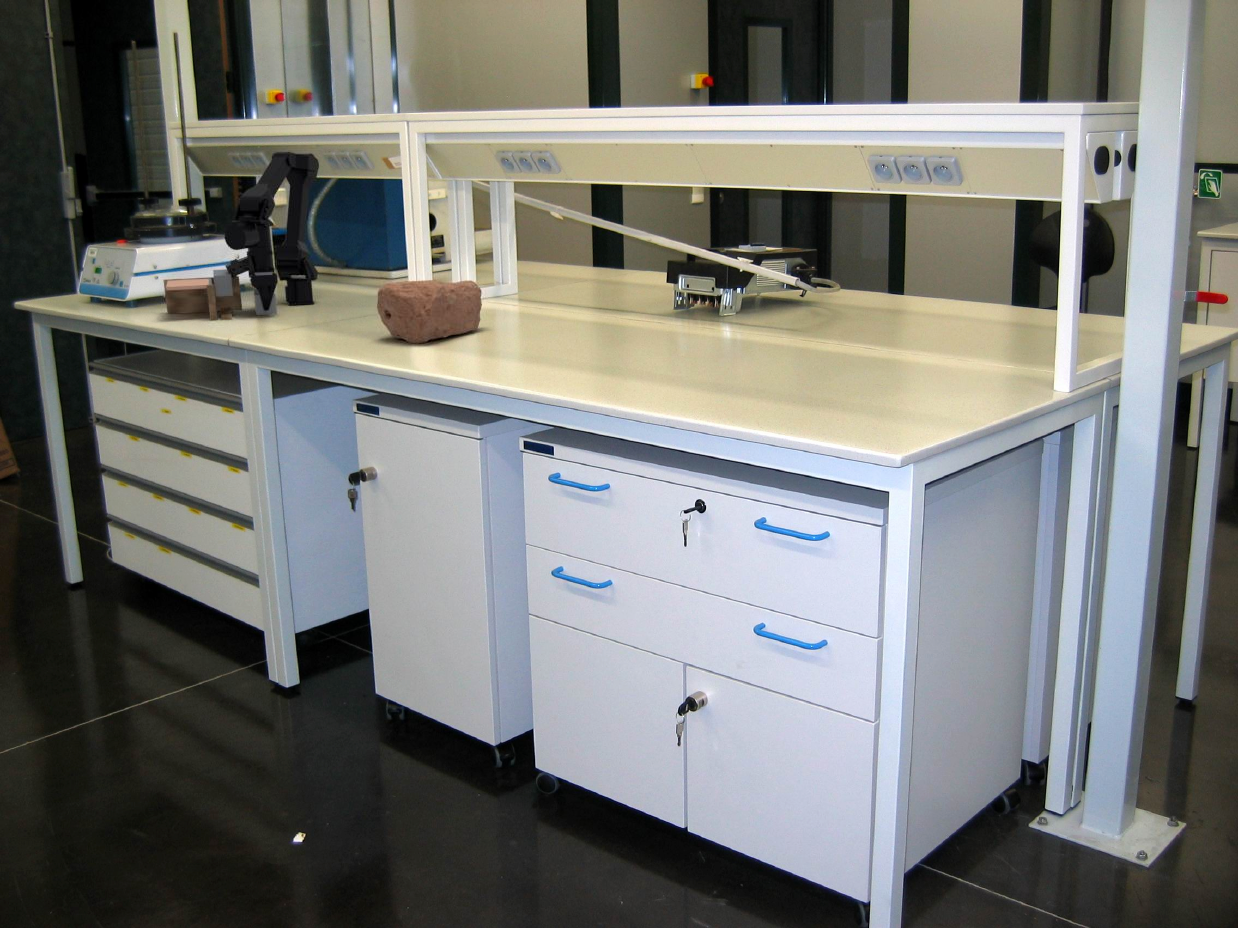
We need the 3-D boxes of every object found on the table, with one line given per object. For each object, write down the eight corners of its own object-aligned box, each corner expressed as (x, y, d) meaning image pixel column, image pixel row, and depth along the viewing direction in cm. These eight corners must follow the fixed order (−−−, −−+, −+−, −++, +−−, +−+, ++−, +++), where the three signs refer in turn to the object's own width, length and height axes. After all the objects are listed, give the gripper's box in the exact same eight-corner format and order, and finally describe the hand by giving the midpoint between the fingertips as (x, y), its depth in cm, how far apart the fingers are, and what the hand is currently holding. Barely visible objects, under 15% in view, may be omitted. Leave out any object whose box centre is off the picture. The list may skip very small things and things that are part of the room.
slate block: (276, 311, 288) (273, 287, 286) (277, 314, 283) (274, 290, 282) (255, 312, 286) (253, 288, 285) (256, 315, 282) (253, 291, 280)
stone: (511, 325, 253) (494, 259, 252) (426, 339, 234) (408, 268, 233) (463, 340, 264) (446, 278, 263) (378, 355, 244) (360, 287, 243)
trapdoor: (231, 289, 289) (229, 269, 287) (233, 295, 276) (230, 275, 275) (169, 292, 284) (166, 272, 282) (167, 299, 271) (164, 278, 270)
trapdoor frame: (242, 309, 292) (238, 276, 290) (244, 318, 277) (240, 283, 274) (167, 313, 287) (163, 279, 284) (165, 323, 271) (161, 287, 269)
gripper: (224, 244, 286) (231, 306, 291) (226, 251, 269) (233, 316, 274) (270, 242, 290) (276, 303, 294) (274, 249, 273) (280, 313, 277)
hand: (265, 309), depth 285 cm, fingers closed on slate block, 5 cm apart
